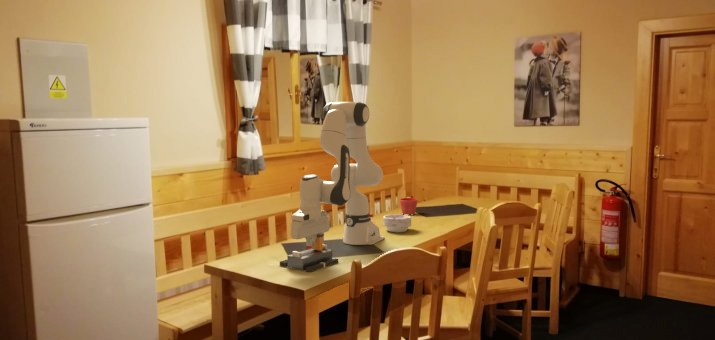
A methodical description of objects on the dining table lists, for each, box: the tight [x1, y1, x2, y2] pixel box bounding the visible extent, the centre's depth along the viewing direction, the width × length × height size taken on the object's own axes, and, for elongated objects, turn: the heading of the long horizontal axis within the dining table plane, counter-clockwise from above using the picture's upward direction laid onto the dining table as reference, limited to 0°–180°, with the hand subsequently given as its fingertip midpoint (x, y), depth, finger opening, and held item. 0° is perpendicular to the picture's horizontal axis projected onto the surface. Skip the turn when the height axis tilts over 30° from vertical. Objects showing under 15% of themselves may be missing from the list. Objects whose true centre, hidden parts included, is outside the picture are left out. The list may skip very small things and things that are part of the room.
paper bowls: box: [382, 214, 412, 233], centre depth 295 cm, size 15×15×8 cm
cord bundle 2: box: [305, 258, 339, 273], centre depth 227 cm, size 18×2×2 cm, turn 141°
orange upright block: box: [312, 234, 323, 251], centre depth 234 cm, size 2×5×6 cm, turn 51°
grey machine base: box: [286, 243, 333, 272], centre depth 231 cm, size 18×9×7 cm, turn 141°
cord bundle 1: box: [279, 258, 288, 268], centre depth 236 cm, size 18×4×2 cm, turn 141°
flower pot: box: [399, 197, 418, 215], centre depth 341 cm, size 11×11×10 cm
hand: (311, 245), depth 231 cm, fingers closed
